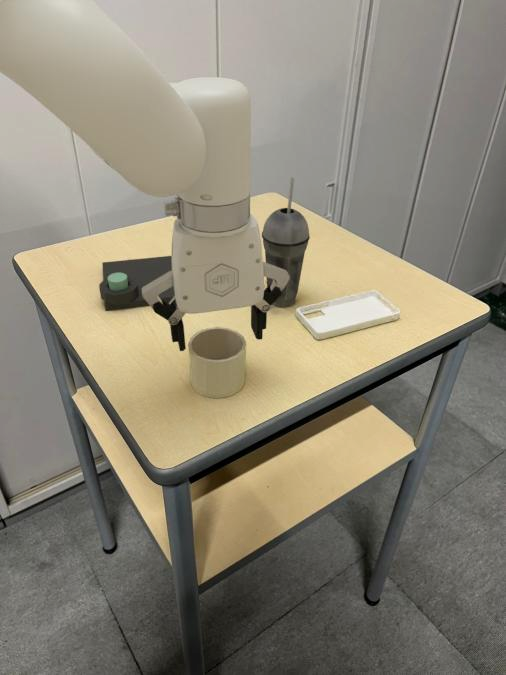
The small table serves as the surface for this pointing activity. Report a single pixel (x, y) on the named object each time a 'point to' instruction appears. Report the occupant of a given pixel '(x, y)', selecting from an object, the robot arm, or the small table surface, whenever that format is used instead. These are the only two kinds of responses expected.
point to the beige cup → (217, 362)
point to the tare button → (117, 281)
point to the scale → (134, 281)
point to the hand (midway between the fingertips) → (219, 338)
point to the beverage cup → (286, 247)
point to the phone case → (347, 314)
